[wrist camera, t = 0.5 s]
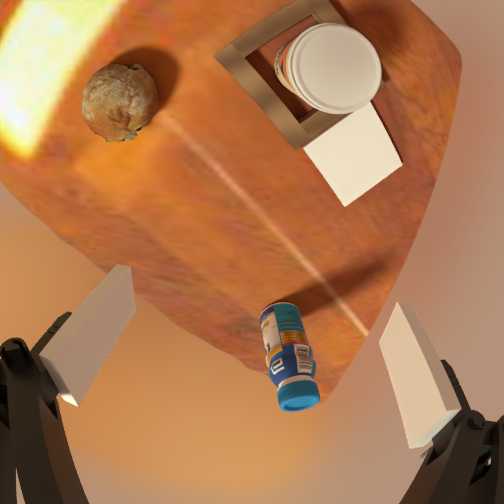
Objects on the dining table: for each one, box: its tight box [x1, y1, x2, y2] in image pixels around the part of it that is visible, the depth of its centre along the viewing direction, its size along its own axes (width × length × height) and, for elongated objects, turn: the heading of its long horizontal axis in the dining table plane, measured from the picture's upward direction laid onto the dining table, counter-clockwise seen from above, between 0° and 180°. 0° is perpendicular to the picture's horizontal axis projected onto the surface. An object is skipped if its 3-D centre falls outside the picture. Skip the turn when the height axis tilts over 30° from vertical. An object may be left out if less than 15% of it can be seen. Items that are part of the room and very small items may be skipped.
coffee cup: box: [274, 23, 381, 114], centre depth 26 cm, size 9×9×12 cm
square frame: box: [214, 0, 387, 150], centre depth 30 cm, size 16×16×2 cm
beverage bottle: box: [260, 302, 320, 412], centre depth 49 cm, size 8×8×20 cm
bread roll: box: [81, 64, 159, 142], centre depth 28 cm, size 10×10×8 cm
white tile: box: [302, 101, 402, 207], centre depth 38 cm, size 12×12×1 cm
